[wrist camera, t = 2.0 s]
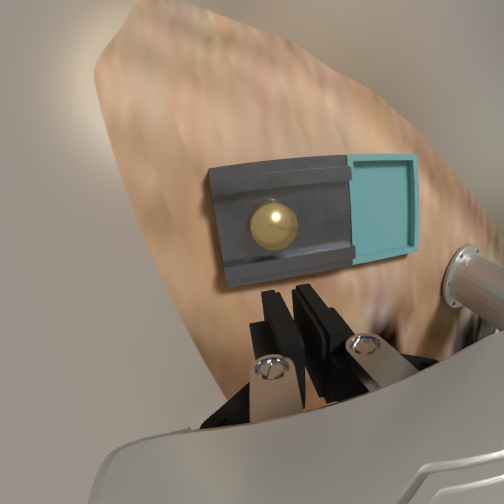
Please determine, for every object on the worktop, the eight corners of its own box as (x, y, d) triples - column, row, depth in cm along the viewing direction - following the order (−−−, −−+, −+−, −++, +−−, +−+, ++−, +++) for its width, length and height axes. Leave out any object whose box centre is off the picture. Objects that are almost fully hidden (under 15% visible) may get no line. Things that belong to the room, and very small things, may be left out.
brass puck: (289, 198, 30) (295, 200, 28) (293, 240, 32) (299, 246, 30) (245, 204, 30) (248, 207, 28) (251, 247, 32) (254, 253, 29)
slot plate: (338, 155, 32) (349, 154, 29) (345, 261, 36) (355, 269, 33) (208, 168, 30) (207, 168, 27) (226, 281, 35) (227, 292, 32)
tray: (408, 154, 33) (416, 154, 31) (410, 247, 37) (417, 251, 35) (340, 155, 32) (346, 155, 30) (346, 260, 36) (352, 265, 34)
